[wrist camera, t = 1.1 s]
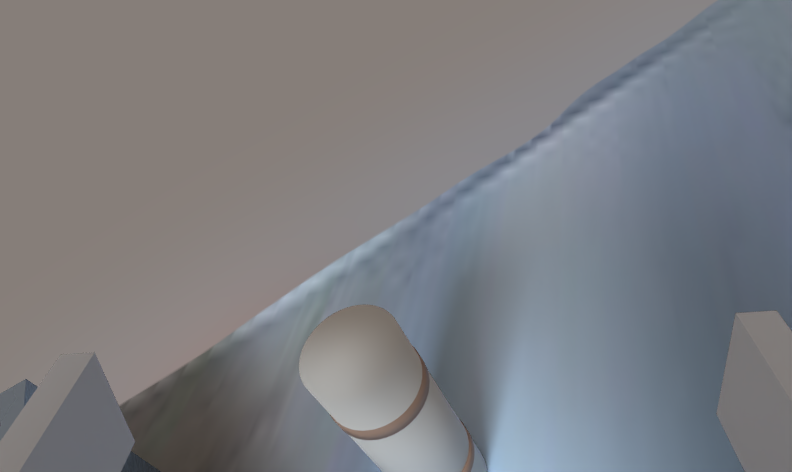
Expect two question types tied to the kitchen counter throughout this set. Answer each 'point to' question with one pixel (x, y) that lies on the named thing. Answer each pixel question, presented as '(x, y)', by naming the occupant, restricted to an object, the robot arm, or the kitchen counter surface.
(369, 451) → the coin roll
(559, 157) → the kitchen counter surface
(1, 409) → the grey box with opening
